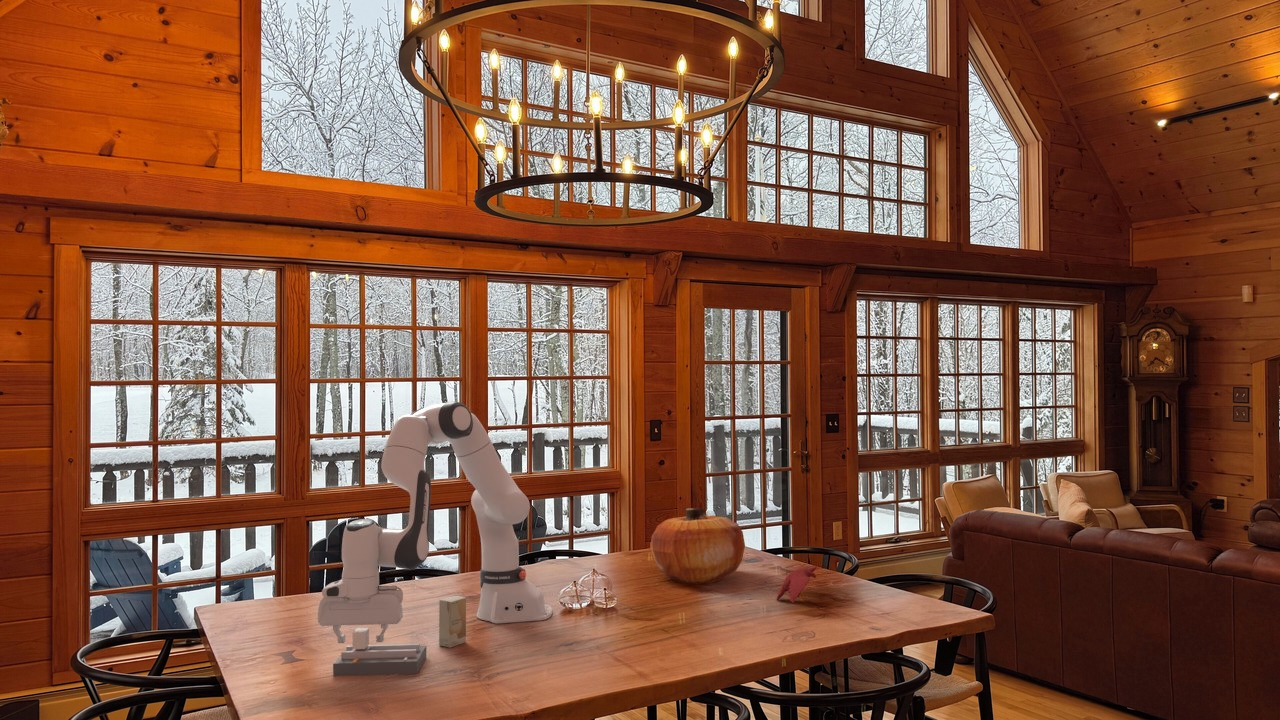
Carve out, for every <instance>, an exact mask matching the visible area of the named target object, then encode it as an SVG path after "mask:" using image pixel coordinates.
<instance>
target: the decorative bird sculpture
mask: <svg viewBox="0 0 1280 720" xmlns="http://www.w3.org/2000/svg"><path fill="white" fill-rule="evenodd" d="M816 569H817V566H811V567H810V566H809V567H803V568H798V569H795V570H793V571H791V572H790V573H788V575H787V576H786V577H785V579H784V580H783V583H782V586H781V587H780V590H779V592H778V593H777V596H776V601H779V600H780V599H781V598H782V597H783V596H784V595H785V593H788V594H789V595H788V596H789V602H792V603H794V602H796V600H797V599H798V598H799V599H800V600H802V603H804V602H806V601H807V599H808V598H809V597H805V596H804V595H803V594H802V591H804V590H805V588H806V587H807V585H808V583H809V581H810V578H811V577H812V578H813V579H816V578H817V575H816V574H815V573H814V572H815V571H816Z"/></svg>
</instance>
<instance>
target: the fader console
mask: <svg viewBox="0 0 1280 720" xmlns="http://www.w3.org/2000/svg"><path fill="white" fill-rule="evenodd" d="M367 647H370V650H369V651H352V650H353V645H346V647H345V650H343V651H341V652H340V654H341V655H339V656H338V658H337V659H336V660H335V661H334V662H333V664H332V668H333V669H332V676H333V677H348V676H349V677H350V676H352V677H353V676H380V675H381V676H383V675H385V676H386V675H387V676H388V675H389V676H390V675H413V674H414V675H416V674H419V673H418V672H420V669H421V668H422V666H423V664H424V663H425V661H426V659H427V645H421V643H399V644H398V643H397V644H395V643H394V644H393V643H390V644H369V645H368V646H367Z"/></svg>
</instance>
